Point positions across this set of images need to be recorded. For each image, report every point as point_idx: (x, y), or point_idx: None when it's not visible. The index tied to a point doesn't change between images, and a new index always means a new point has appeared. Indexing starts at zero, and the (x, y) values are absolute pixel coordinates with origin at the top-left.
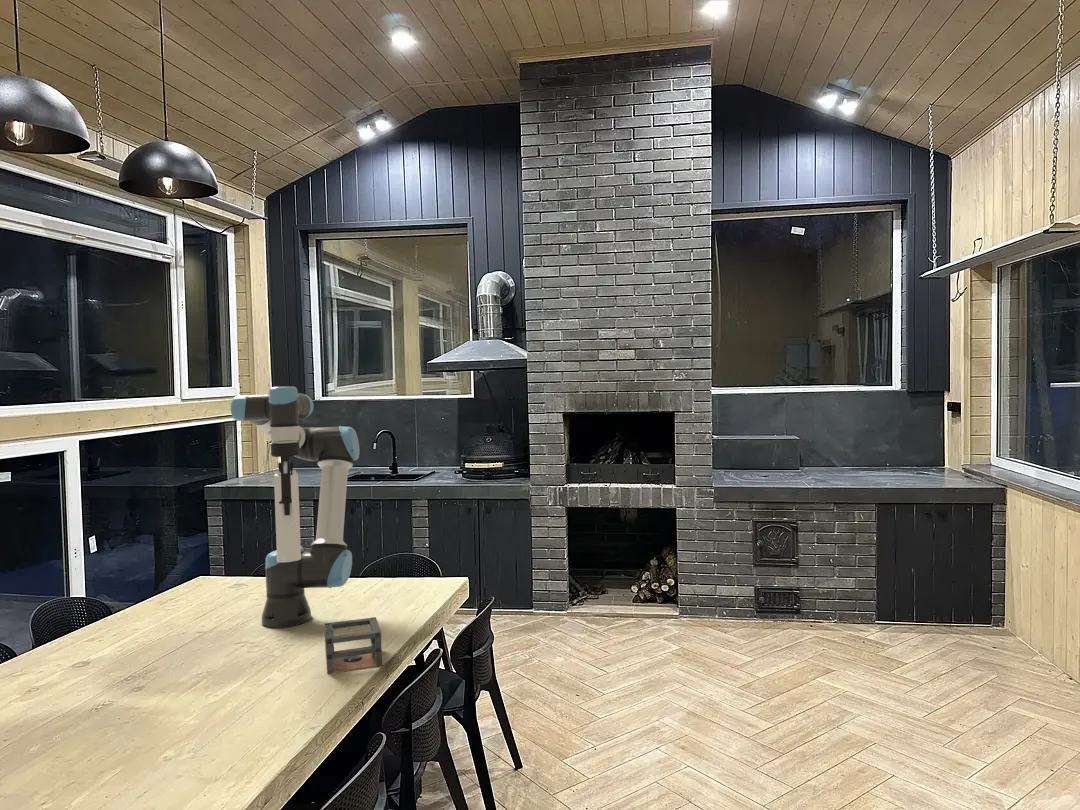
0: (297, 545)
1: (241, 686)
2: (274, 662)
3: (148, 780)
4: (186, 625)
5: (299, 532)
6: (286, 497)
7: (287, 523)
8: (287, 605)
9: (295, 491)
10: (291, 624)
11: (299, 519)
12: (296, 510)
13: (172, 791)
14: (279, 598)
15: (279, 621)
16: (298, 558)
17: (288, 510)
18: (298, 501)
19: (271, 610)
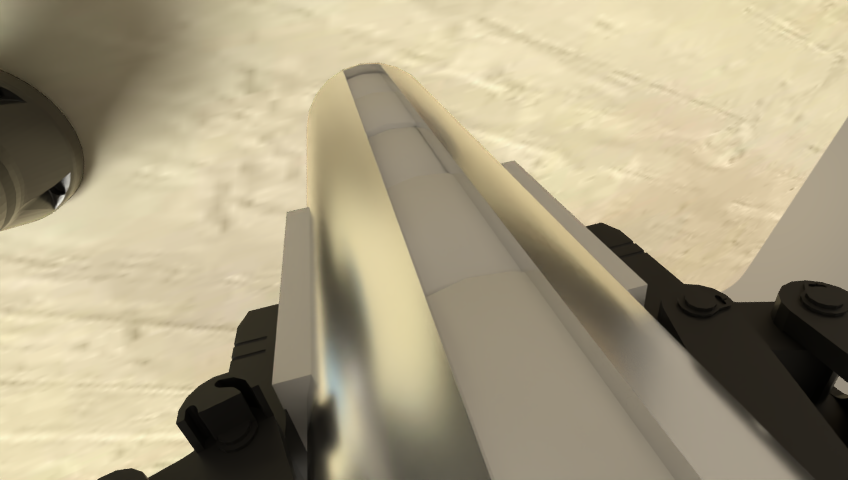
0: (428, 93)
1: (511, 127)
2: None
3: (784, 156)
4: (82, 380)
5: (419, 104)
6: (836, 375)
7: None
8: (18, 147)
9: (726, 391)
10: (59, 113)
11: (438, 137)
12: (526, 196)
13: (832, 113)
14: (12, 185)
15: (72, 154)
16: (406, 73)
17: (637, 258)
18: (526, 239)
19: (36, 197)
